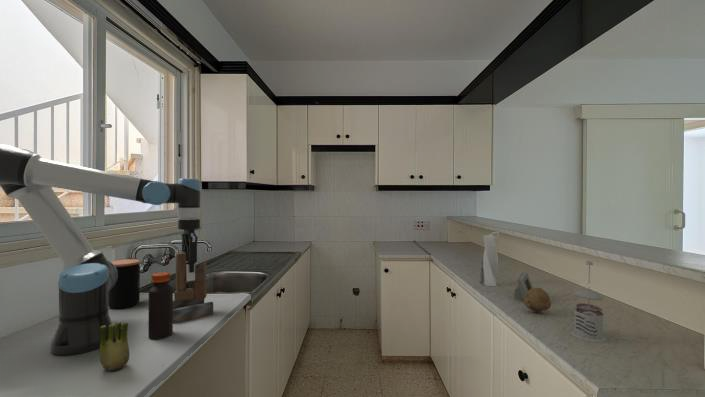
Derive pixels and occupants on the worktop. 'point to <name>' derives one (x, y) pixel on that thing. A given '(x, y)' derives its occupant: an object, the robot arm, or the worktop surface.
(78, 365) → the worktop surface
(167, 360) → the worktop surface
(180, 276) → the brown upright wooden piece
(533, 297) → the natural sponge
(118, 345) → the fennel bulb
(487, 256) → the skyscraper
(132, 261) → the coffee jar
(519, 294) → the digital clock
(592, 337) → the french press
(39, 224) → the robot arm
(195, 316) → the metal-railed wooden board
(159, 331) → the bottle
